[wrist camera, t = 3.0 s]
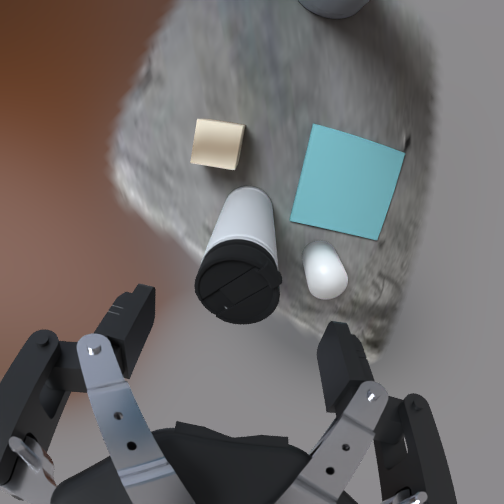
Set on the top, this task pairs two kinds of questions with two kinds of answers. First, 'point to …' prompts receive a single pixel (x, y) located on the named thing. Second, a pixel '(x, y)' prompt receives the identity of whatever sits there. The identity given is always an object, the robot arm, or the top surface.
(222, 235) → the travel mug
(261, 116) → the top surface
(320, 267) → the white plastic capsule
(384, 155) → the teal mat
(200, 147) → the birch block
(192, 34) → the top surface
